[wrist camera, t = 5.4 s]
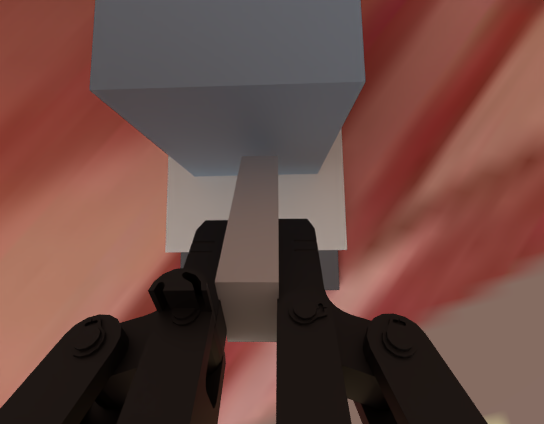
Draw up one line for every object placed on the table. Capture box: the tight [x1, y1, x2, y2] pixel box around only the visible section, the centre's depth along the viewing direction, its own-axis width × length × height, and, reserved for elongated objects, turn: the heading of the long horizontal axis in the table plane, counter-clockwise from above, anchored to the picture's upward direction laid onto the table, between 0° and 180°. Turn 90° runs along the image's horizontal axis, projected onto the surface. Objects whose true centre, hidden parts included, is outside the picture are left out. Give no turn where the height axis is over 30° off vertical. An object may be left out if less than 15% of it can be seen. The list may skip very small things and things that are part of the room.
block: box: [90, 0, 365, 177], centre depth 12 cm, size 7×6×9 cm
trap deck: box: [165, 130, 347, 290], centre depth 18 cm, size 10×22×3 cm, turn 1°
